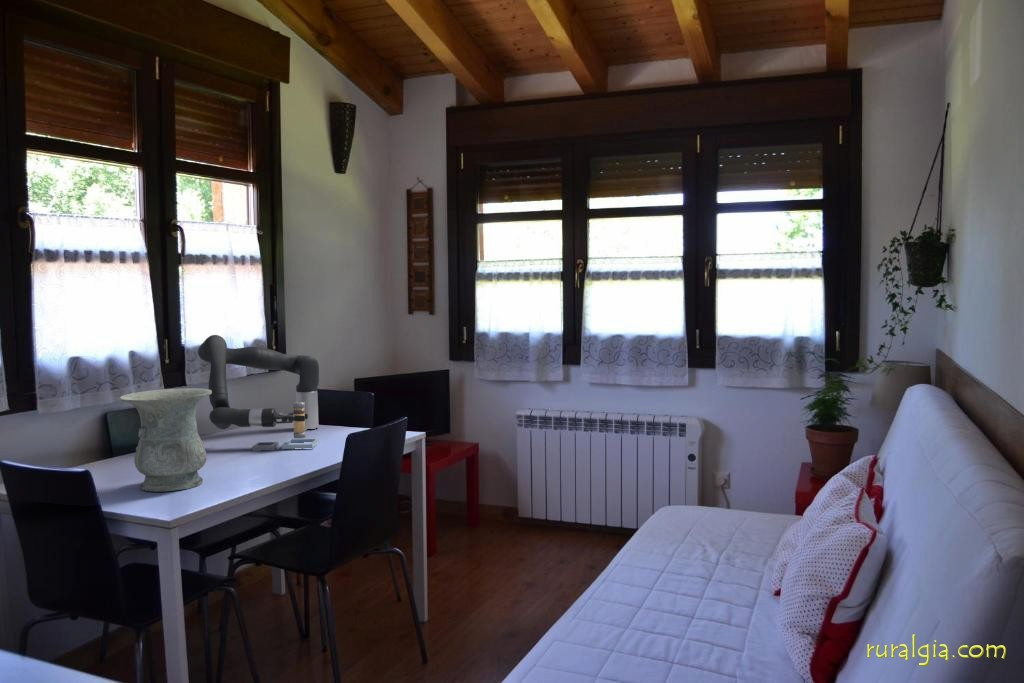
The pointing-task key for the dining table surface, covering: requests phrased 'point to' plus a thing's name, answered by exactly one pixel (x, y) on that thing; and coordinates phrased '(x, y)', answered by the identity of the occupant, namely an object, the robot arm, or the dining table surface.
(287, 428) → the dining table surface
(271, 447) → the socket block
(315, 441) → the parts tray
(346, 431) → the dining table surface
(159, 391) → the vessel
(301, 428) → the grey capped cylinder
